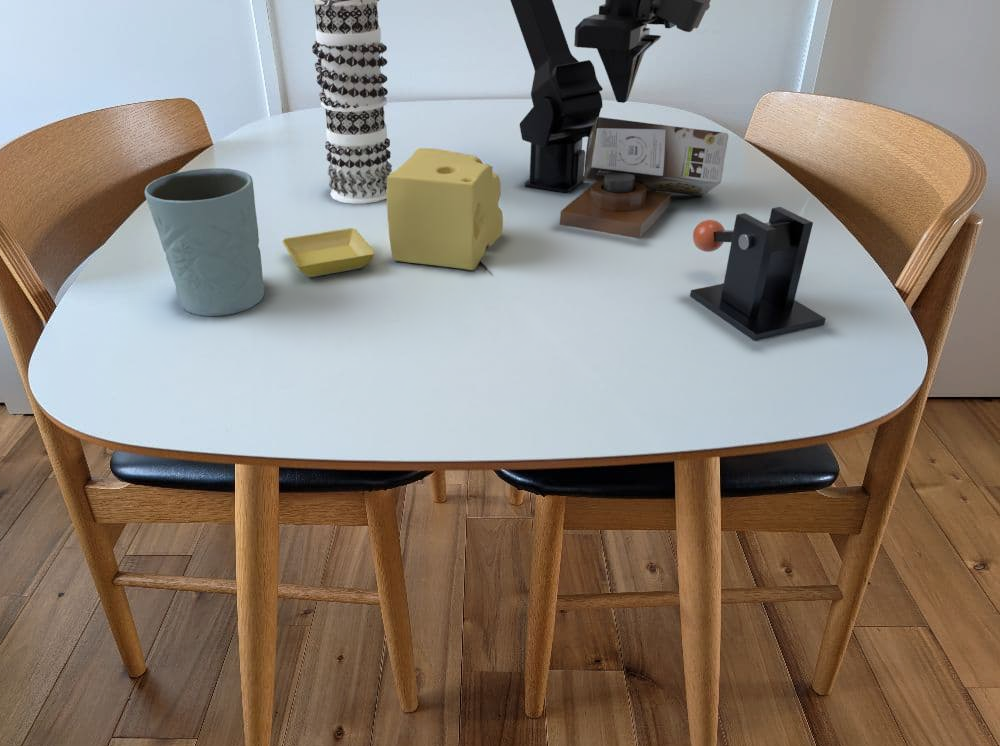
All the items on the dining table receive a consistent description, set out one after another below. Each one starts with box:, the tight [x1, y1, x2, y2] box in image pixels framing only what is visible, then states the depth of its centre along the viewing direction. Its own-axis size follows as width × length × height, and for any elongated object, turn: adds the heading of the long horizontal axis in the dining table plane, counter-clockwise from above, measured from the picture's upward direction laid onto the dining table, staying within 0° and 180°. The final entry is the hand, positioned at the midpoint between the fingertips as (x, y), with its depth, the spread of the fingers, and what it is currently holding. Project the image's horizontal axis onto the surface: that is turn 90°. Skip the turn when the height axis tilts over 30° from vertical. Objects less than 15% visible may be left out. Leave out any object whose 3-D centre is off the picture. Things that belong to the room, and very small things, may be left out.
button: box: [603, 172, 635, 194], centre depth 97 cm, size 4×4×2 cm
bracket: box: [689, 206, 827, 342], centre depth 75 cm, size 10×8×10 cm
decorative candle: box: [311, 0, 393, 205], centre depth 102 cm, size 9×9×25 cm
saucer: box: [281, 227, 376, 278], centre depth 89 cm, size 9×9×2 cm
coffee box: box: [582, 115, 729, 197], centre depth 102 cm, size 9×6×16 cm
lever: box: [692, 219, 791, 253], centre depth 78 cm, size 12×3×3 cm, turn 22°
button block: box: [559, 180, 672, 239], centre depth 99 cm, size 10×12×4 cm
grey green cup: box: [144, 167, 265, 317], centre depth 80 cm, size 10×10×12 cm
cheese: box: [386, 147, 504, 271], centre depth 90 cm, size 10×11×10 cm
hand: (622, 101), depth 96 cm, fingers closed
